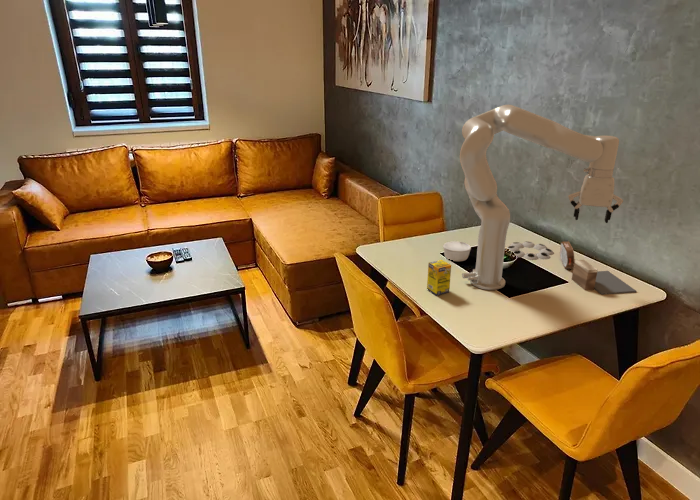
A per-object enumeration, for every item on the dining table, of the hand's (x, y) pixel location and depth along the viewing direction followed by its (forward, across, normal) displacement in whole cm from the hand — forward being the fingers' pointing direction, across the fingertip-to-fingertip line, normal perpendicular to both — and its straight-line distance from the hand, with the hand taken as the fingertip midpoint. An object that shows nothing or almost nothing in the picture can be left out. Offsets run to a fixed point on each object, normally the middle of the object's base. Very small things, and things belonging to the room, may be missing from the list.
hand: (591, 220), depth 174 cm
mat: (+24, +9, +2) cm, 26 cm away
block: (+24, +1, -2) cm, 24 cm away
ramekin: (+25, -47, +9) cm, 54 cm away
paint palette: (+25, -18, +25) cm, 40 cm away
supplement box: (+25, -48, -24) cm, 60 cm away
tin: (+24, -4, +15) cm, 29 cm away
